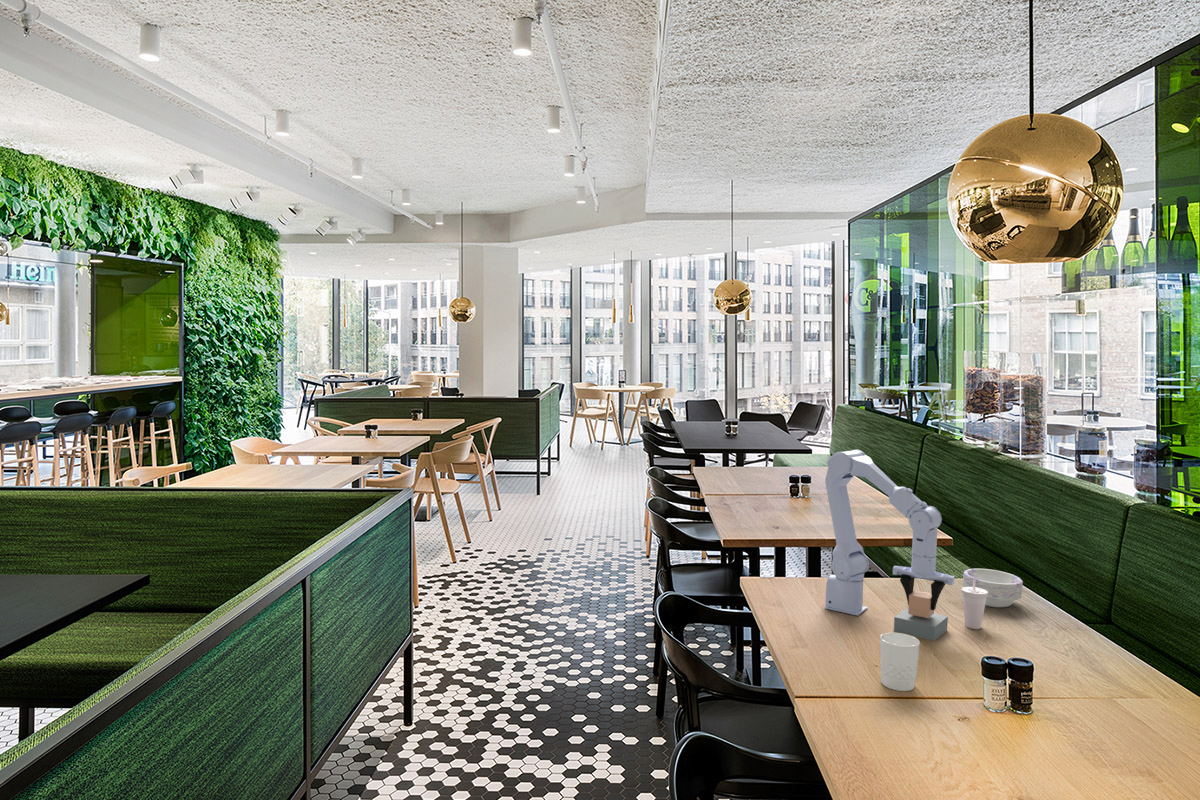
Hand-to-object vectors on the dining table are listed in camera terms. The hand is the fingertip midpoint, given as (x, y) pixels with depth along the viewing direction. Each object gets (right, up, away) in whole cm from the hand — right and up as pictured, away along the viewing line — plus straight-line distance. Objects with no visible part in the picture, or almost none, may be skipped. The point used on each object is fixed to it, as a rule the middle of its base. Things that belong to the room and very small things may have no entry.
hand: (921, 606), depth 195 cm
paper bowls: (+30, -5, +24) cm, 39 cm away
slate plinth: (0, -7, 0) cm, 7 cm away
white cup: (-19, -8, -32) cm, 38 cm away
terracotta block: (0, -2, 0) cm, 2 cm away
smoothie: (+15, -6, +4) cm, 17 cm away
